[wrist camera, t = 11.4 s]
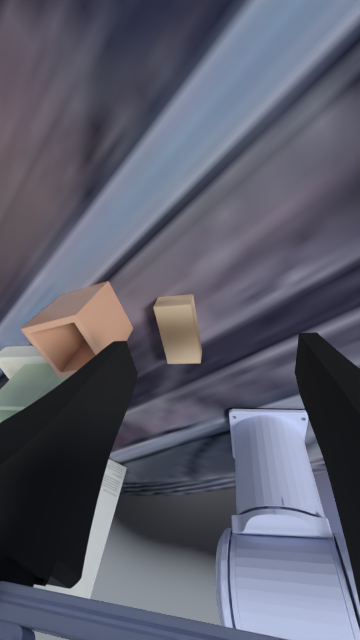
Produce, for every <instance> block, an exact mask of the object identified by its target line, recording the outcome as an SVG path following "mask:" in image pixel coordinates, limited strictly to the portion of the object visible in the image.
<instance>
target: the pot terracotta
mask: <svg viewBox="0 0 360 640" xmlns="http://www.w3.org/2000/svg"><path fill="white" fill-rule="evenodd" d="M132 330H133V327H132V325H131V323H130V321H129V319H128V317H127V316H126V314H125V312H124V310H123V308H122V306H121V304H120V302H119V300H118V298H117V297H116V295H115V293H114V291H113V289H112V287H111V285H110V283H109V281H106V282H103V283H99V284H96V285H93V286H89V287H86V288H83V289H79V290H76V291H72V292H69V293H66V294H62V295H61V296H59V297H58V298H57V299H56V300H55V301H53V302H52V303H51V304H50V305H49V306H47V307H46V308H45V309H44V310H43V311H41V312H40V313H39V314H38V315H37V316H35V317H34V318H33V319H32V320H31V321H30V322H28V323H27V324H26V325H25V326H24V327H22V328H21V331H22V332H23V333H24V334H25V336H26V337H27V338H28V339H29V341H30V342H31V343H32V344H33V346H34V347H35V348H36V349H37V351H38V352H39V353H40V354H41V356H42V357H43V358H44V359H45V361H46V362H47V363H48V364H49V365H50V367H51V368H52V369H53V370H54V372H55V373H56V374H57V375H58V377H59V378H62V377H68V376H71V375H72V374H74V373H75V372H76V371H77V370H79V369H80V368H81V367H82V366H83V365H85V364H86V363H87V362H88V361H90V360H91V359H92V358H93V357H94V356H96V355H97V354H98V353H99V352H100V351H102V350H103V349H104V348H105V347H107V346H108V345H109V344H110V343H112V342H113V341H127V339H128V337H129V335H130V334H131V332H132Z"/></svg>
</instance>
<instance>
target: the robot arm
mask: <svg viewBox="0 0 360 640" xmlns="http://www.w3.org/2000/svg"><path fill="white" fill-rule="evenodd" d="M295 375H296V379H297V384H298V388H299V392H300V396H301V399H302V401H303V404H304V407H305V410H306V411H305V410H271V409H230V410H229V421H230V431H231V442H232V452H233V458H234V459H235V470H236V496H237V515H232V528H227V529H226V530H225V531H224V533H223V535H222V537H221V538H220V540H219V543H218V548H217V555H216V595H217V604H218V612H219V617H220V621H221V624H222V626H219V625H215V624H210V623H205V622H200V621H195V620H190V619H186V618H181V617H175V616H171V615H166V614H161V613H156V612H151V611H146V610H142V609H137V608H132V607H126V606H122V605H117V604H112V603H107V602H103V601H97V600H92V599H88V598H83V597H78V596H73V595H68V594H64V593H59V592H54V591H49V590H44V589H39V588H34V587H33V586H34V584H35V585H40V586H46V585H52V586H57V587H62V588H68V589H70V588H72V587H74V586H75V585H76V584H77V583H78V582H79V580H80V579H81V578H82V572H83V566H84V561H85V556H86V551H87V546H88V541H89V536H90V531H91V527H92V522H93V518H94V513H95V509H96V505H97V500H98V497H99V493H100V489H101V485H102V481H103V477H104V473H105V470H106V466H107V463H108V459H109V456H110V452H111V450H112V447H113V444H114V441H115V438H116V436H117V433H118V431H119V428H120V426H121V423H122V421H123V418H124V416H125V413H126V411H127V408H128V405H129V403H130V400H131V397H132V395H133V391H134V387H135V383H136V379H137V371H136V368H135V365H134V362H133V360H132V357H131V354H130V351H129V348H128V345H127V342H126V341H113V342H112V343H110V344H109V345H108V346H107V347H105V348H104V349H103V350H102V351H100V352H99V353H98V354H97V355H96V356H94V357H93V358H92V359H91V360H90V361H88V362H87V363H86V364H85V365H83V366H82V367H81V368H80V369H79V370H77V371H76V372H75V373H74V374H72V375H71V376H70V377H68V378H67V379H66V380H65V381H63V382H62V383H61V384H59V385H58V386H57V387H55V388H54V389H53V390H51V391H50V392H48V393H47V394H46V395H44V396H43V397H41V398H40V399H38V400H37V401H35V402H34V403H32V404H31V405H29V406H27V407H26V408H24V409H23V410H21V411H19V412H17V413H16V414H14V415H12V416H11V417H9V418H7V419H5V420H4V421H2V422H0V640H35V634H34V632H33V631H37V632H41V633H45V634H49V635H53V636H57V637H61V638H65V639H69V640H360V369H359V368H358V367H357V366H356V365H354V364H353V363H352V362H351V361H349V360H348V359H347V358H346V357H344V356H343V355H342V354H341V353H340V352H339V351H337V350H336V349H335V348H334V347H333V346H331V345H330V344H329V343H328V342H327V341H326V340H325V339H323V338H322V337H321V336H320V335H319V334H318V333H299V339H298V348H297V357H296V367H295ZM308 418H309V420H310V423H311V426H312V428H313V431H314V434H315V436H316V439H317V442H318V444H319V447H320V450H321V452H322V455H323V458H324V461H325V464H326V468H327V472H328V475H329V479H330V482H331V486H332V490H333V494H334V497H335V502H336V505H337V509H338V513H339V517H340V521H341V525H342V529H343V533H344V536H343V535H342V534H341V533H333V535H334V539H333V536H332V532H331V529H330V525H329V522H328V519H327V518H325V516H324V512H323V508H322V505H321V502H320V498H319V494H318V491H317V487H316V484H315V480H314V476H313V473H312V469H311V465H310V462H309V458H308V455H307V451H306V448H305V444H304V441H305V435H306V429H307V423H308ZM334 541H335V543H334ZM335 545H336V546H335ZM32 630H33V631H32Z"/></svg>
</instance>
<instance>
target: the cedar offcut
mask: <svg viewBox="0 0 360 640" xmlns="http://www.w3.org/2000/svg"><path fill="white" fill-rule="evenodd" d="M153 308H154V312H155V316H156V320H157V323H158V327H159V331H160V335H161V339H162V343H163V347H164V350H165V354H166V358H167V362H168V364H184V363H201V354H202V348H201V342H200V336H199V329H198V323H197V317H196V310H195V304H194V298H193V294H192V295H180V296H168V297H158V298H157V301H156V303H155V305H154V307H153Z"/></svg>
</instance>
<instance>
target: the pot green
mask: <svg viewBox="0 0 360 640" xmlns="http://www.w3.org/2000/svg"><path fill="white" fill-rule="evenodd" d="M68 377H70V376H68ZM68 377H62V378H59V377H58V375H57V374H56V373H55V372H54V370H53V369H52V368H51V367H50V365H49V364H25V365H24V366H23V367H22V368H21V369H20V370H19V371H18V372H17V373H16V374H15V375H14V376H13V377H12V378H11V379H10V380H9V381H8V382H7V383H6V384H5V385H4V386H3V387H2V388H1V389H0V422H2V421H4V420H5V419H7V418H9V417H11V416H12V415H14V414H16V413H17V412H19V411H21V410H23V409H24V408H26V407H27V406H29V405H31V404H32V403H34V402H35V401H37V400H38V399H40V398H41V397H43V396H44V395H46V394H47V393H48V392H50V391H51V390H53V389H54V388H55V387H57V386H58V385H59V384H61V383H62V382H63V381H65V380H66V379H67V378H68Z"/></svg>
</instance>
